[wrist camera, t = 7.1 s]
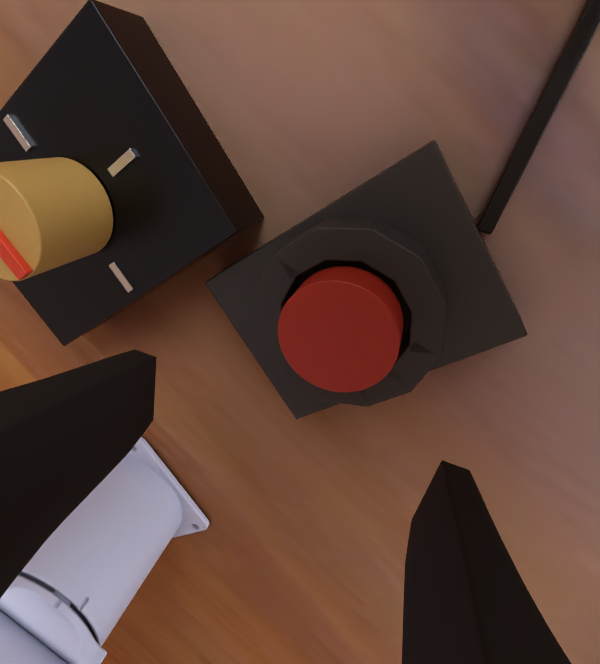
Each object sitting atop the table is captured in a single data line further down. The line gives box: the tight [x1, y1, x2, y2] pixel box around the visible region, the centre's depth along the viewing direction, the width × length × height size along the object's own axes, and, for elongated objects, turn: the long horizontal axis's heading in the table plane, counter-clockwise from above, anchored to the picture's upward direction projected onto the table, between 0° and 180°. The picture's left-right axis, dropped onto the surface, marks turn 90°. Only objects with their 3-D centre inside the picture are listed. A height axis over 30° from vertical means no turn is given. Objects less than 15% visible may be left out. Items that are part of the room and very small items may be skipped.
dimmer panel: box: [0, 0, 264, 346], centre depth 19 cm, size 12×9×3 cm
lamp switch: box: [278, 266, 403, 392], centre depth 16 cm, size 4×4×2 cm
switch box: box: [205, 140, 527, 419], centre depth 18 cm, size 11×8×4 cm
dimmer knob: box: [0, 157, 113, 281], centre depth 16 cm, size 4×4×4 cm
